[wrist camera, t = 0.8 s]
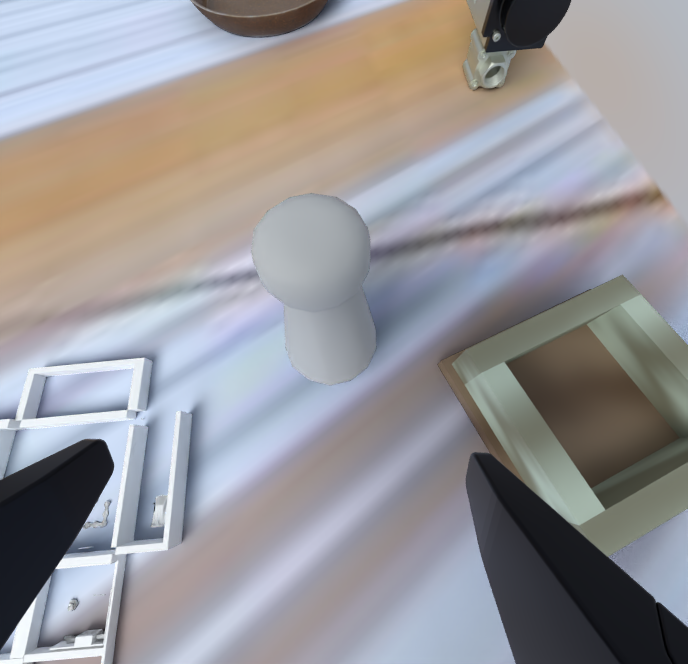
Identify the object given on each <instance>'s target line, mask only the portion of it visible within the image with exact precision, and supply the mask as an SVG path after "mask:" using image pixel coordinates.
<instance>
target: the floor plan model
mask: <svg viewBox="0 0 688 664" xmlns="http://www.w3.org/2000/svg"><path fill="white" fill-rule="evenodd" d="M152 364H153V361H151V360H149V359H147V358H135V359H125V360H114V361H104V362H94V363H83V364H73V365H62V366H52V367H41V368H31V369H29V371H28V374H27V378H26V382H25V385H24V389H23V392H22V396H21V399H20V403H19V407H18V410H17V414H16V417H15V419H3V420H0V480H1V479H3V477H4V474H5V470H6V466H7V463H8V459H9V456H10V452H11V448H12V445H13V441H14V437H15V434H16V431H17V430H26V428H28V429H38V428H49V427H60V426H70V425H81V424H91V423H102V422H113V421H123V420H134V419H136V414H137V412H140V411H146V408H147V401H148V393H149V386H150V379H151V371H152ZM133 368H134V370H133V377H132V383H131V389H130V396H129V402H128V409H127V410H120V411H110V412H99V413H89V414H78V415H68V416H57V417H46V418H36V416H37V412H38V408H39V404H40V400H41V396H42V392H43V388H44V384H45V381H46V377H49V376H60V375H70V374H81V373H91V372H102V371H112V370H123V369H133ZM141 420H143V419H141ZM191 424H192V414H190V413H186V412H182V411H177V412H176V419H175V429H174V439H173V448H172V458H171V468H170V478H169V488H168V495H167V496H166V495H162V496H161V495H160V496H156V498H155V500H156V502H155V503H153V504H155V507H154V514H153V519H152V524H151V527H153V528H154V527H162V526H164V525H165V527H164V537H163V538H158V539H148V540H137V541H134V533H135V526H136V518H137V510H138V503H139V495H140V487H141V480H142V472H143V464H144V457H145V449H146V441H147V434H148V427H146V426H140V425H130V426H129V432H128V439H127V445H126V452H125V459H124V465H123V472H122V478H121V485H120V491H119V498H118V505H117V511H116V518H115V524H114V531H113V538H112V544H111V548H112V547H116V549H114V550H103V551H92V552H81V553H70V554H65V555H64V557H63V558H62V560H61V561H60V563H59V564H58V566H57V567H56V569H62V568H73V567H84V566H95V565H106V564H112V563H114V562H116V564H115V571H114V578H113V585H112V588H111V593H110V600H109V607H108V614H107V621H106V627H105V631H102V630H103V629H98V630H87V631H85V632H83V633H82V634H80V635H78V636H75V635H74V636H65V637H64V641H61V642H59V643H58V644H56V645H54V646H52V647H40V648H37V645H38V640H39V635H40V630H41V625H42V620H43V615H44V610H45V606H46V601H47V596H48V591H49V586H50V581H51V576H52V575H51V576H50V578H49V579H48V581H47V582H46V583H45V585H44V586H43V588H42V589H41V591H40V592H39V594H38V595H37V597H36V598H35V600H34V601H33V603H32V604H31V606H30V607H29V609H28V610H27V612H26V613H25V615H24V616H23V618H22V619H21V621H20V622H19V624H18V625H17V628H16V633H15V637H14V641H13V646H12V650H11V653H7V654H0V664H33V663H34V662H38V661H49V660H61V659H72V658H83V657H94V656H102V659H101V664H112V663H113V656H114V649H115V638H116V631H117V624H118V616H119V609H120V601H121V594H122V587H123V579H124V572H125V564H126V557H127V554H129V553H140V552H151V551H162V550H169V549H171V548H173V547H175V546H177V545H179V544H181V543H182V532H183V520H184V508H185V496H186V484H187V472H188V460H189V448H190V436H191ZM97 501H98V500H97ZM96 503H97V502H96ZM109 505H110V501H106V502H105V504H104V506H105V511H104V512H103V521H102V522H101V523H99V522H97V521H96V522H94V523H92V524H91V523H89V522H87V523H85V525H84V526H83V528H84V529H87V528H89V527H93V528H96V527H98V526H101V527H105V526H106V525H107V521H106V518H107V516H108V514H109V512H108V507H109ZM165 513H166V514H165ZM91 547H93V546H91ZM91 547H82V548H79V549H86V548H91ZM102 595H106V594H102ZM93 596H95V595H93ZM78 603H79V602H77V600H76V599H72V600H70V603H69V606H68V611H73V610H75V608H76V606H77V605H78Z"/></svg>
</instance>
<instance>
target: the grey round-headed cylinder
mask: <svg viewBox="0 0 688 664" xmlns="http://www.w3.org/2000/svg"><path fill="white" fill-rule="evenodd" d="M251 254H252V258H253V263H254V265H255V268H256V270H257V273H258V275H259V277H260V280H261V282H262V284H263V286H264V287H265V289H266V290H267V291H268V292H269V293H270V294H271V295H273V296H274V297H275V298H277V299H278V300H279V301H281V302H282V303H283V304H284V324H285V348H286V351H287V354H288V356H289V359H290V361H291V364H292V367H293V368H295V369H296V370H297V371H298V372H300V373H301V374H302V375H303V376H305V377H306V378H307V379H309V380H311V381H315V382H319V383H323V384H327V385H334V384H339V383H343V382H347V381H351V380H352V379H353V378H355V377H356V376H357V375H359V374H360V373H361V372H362V371H364V370H365V369H366V368H367V367H368V365H369V363H370V361H371V359H372V357H373V354H374V352H375V350H376V328H375V325H374V322H373V319H372V316H371V313H370V309H369V306H368V303H367V300H366V297H365V294H364V291H363V288H362V283H363V281H364V279H365V278H366V276H367V274H368V272H369V267H370V236H369V231H368V227H367V226H366V224H365V223H364V221H363V220H362V218H361V217H360V215H359V213H358V212H357V210H356V209H355V208H353V207H351V206H350V205H348V204H347V203H345V202H343V201H342V200H340V199H339V198H337V197H333V196H326V195H319V194H313V193H310V194H305V195H299V196H294V197H289V198H288V199H286V200H284V201H283V202H281V203H280V204H278V205H276V206H275V207H273V208H272V209H270V210H268V211H267V212H266V214H265V215H264V216H263V218H262V219H261V221H260V222H259V223H258V225H257V226H256V227H255V229H254V232H253V240H252V248H251Z"/></svg>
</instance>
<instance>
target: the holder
mask: <svg viewBox="0 0 688 664" xmlns="http://www.w3.org/2000/svg"><path fill="white" fill-rule="evenodd" d="M438 366H439V368H440V370H441V371H442V373H443V375H444V376H445V378H446V380H447V381H448V383H449V385H450V386H451V388H452V390H453V391H454V393H455V395H456V396H457V398H458V400H459V401H460V403H461V405H462V406H463V408H464V410H465V412H466V413H467V415H468V417H469V418H470V420H471V422H472V423H473V425H474V427H475V428H476V430H477V432H478V433H479V435H480V437H481V438H482V440H483V442H484V443H485V445H486V447H487V448H488V450H489V452H490V453H491V455H493V456H494V457H495V458H496V459H497V460H498V461H500V462H501V463H502V464H503V465H504V466H505V467H506V468H508V469H509V470H510V471H511V472H512V473H513V474H514V475H515V476H517V477H518V478H519V479H520V480H521V481H522V482H523V483H525V484H526V485H527V486H528V487H529V488H530V489H531V490H533V491H534V492H535V493H536V494H537V495H538V496H539V497H540V498H542V499H543V500H544V501H545V502H546V503H547V504H548V505H550V506H551V507H552V508H553V509H554V510H555V511H556V512H557V513H559V514H560V515H561V516H562V517H563V518H564V519H565V520H567V521H568V522H569V523H570V524H571V525H572V526H573V527H574V528H576V529H577V530H578V531H579V532H580V533H581V534H582V535H584V536H585V537H586V538H587V539H588V540H589V541H590V542H592V543H593V544H594V545H595V546H596V547H597V548H598V549H599V550H601V551H602V552H603V553H604V554H605V555H606V556H607V557H608V556H610V555H612V554H613V553H615V552H617V551H618V550H620V549H622V548H623V547H625V546H627V545H628V544H630V543H632V542H633V541H635V540H637V539H638V538H640V537H641V536H643V535H645V534H646V533H648V532H650V531H651V530H653V529H655V528H656V527H658V526H660V525H661V524H663V523H665V522H666V521H668V520H670V519H671V518H673V517H675V516H676V515H678V514H679V513H681V512H683V511H684V510H686V509H688V345H687V344H686V343H685V342H684V340H683V339H682V338H681V337H680V336H679V335H678V334H677V333H676V332H675V331H674V330H673V329H672V328H671V326H670V325H669V324H668V323H667V322H666V321H665V320H664V319H663V318H662V317H661V316H660V315H659V314H658V312H657V311H656V310H655V309H654V308H653V307H652V306H651V305H650V304H649V303H648V302H647V301H646V299H645V298H644V297H643V296H642V295H641V294H640V293H639V292H638V291H637V290H636V289H635V288H634V287H633V285H632V284H631V283H630V282H629V281H628V280H627V279H626V278H625V277H624V276H623V275H621V276H619V277H616V278H614V279H612V280H610V281H608V282H606V283H604V284H602V285H600V286H598V287H596V288H594V289H589V290H587V291H585V292H583V293H581V294H579V295H577V296H575V297H573V298H571V299H569V300H567V301H564V302H562V303H560V304H558V305H556V306H554V307H552V308H550V309H548V310H546V311H544V312H542V313H539V314H537V315H535V316H533V317H531V318H529V319H527V320H525V321H523V322H521V323H519V324H516V325H514V326H512V327H510V328H508V329H506V330H504V331H502V332H500V333H498V334H496V335H494V336H491V337H489V338H487V339H485V340H483V341H481V342H479V343H477V344H475V345H473V346H471V347H469V348H466V349H464V350H462V351H460V352H458V353H456V354H454V355H452V356H450V357H448V358H446V359H444V360H441V361H440V363H439V364H438Z"/></svg>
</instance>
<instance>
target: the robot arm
mask: <svg viewBox="0 0 688 664" xmlns="http://www.w3.org/2000/svg"><path fill="white" fill-rule="evenodd" d="M113 470H114V462H113V459H112V457H111V454H110V452H109V449H108V446H107V444H106V442H105V441H104V440H101V439H84V440H82V441H80V442H77V443H75V444H73V445H71V446H69V447H67V448H65V449H63V450H61V451H59V452H57V453H55V454H53V455H51V456H49V457H47V458H44V459H42V460H40V461H38V462H36V463H34V464H32V465H30V466H28V467H26V468H24V469H22V470H20V471H18V472H16V473H14V474H12V475H9V476H7V477H5V478H3V479H1V480H0V650H1V649H2V647H3V646H4V644H5V643H6V641H7V640H8V638H9V637H10V635H11V634H12V632H13V631H14V630H15V628H16V627H17V625H18V624H19V622H20V621H21V619H22V618H23V616H24V615H25V613H26V612H27V610H28V609H29V607H30V606H31V604H32V603H33V601H34V600H35V598H36V597H37V595H38V594H39V592H40V591H41V589H42V588H43V586H44V585H45V583H46V582H47V581H48V579H49V578H50V576H51V575H52V573H53V572H54V570H55V569H56V567H57V566H58V564H59V563H60V561H61V560H62V558H63V557H64V555H65V554H66V552H67V551H68V549H69V548H70V546H71V545H72V543H73V542H74V540H75V539H76V537H77V535H78V534H79V532H80V530H81V529H82V527H83V525H84V523H85V522H86V520H87V518H88V516H89V514H90V513H91V511H92V509H93V507H94V506H95V504H96V502H97V500H98V498H99V497H100V495H101V493H102V491H103V490H104V488H105V486H106V484H107V482H108V481H109V479H110V477H111V475H112V473H113ZM466 489H467V494H468V498H469V503H470V507H471V512H472V517H473V521H474V526H475V530H476V535H477V540H478V544H479V548H480V553H481V557H482V560H483V564H484V567H485V570H486V573H487V576H488V580H489V583H490V586H491V589H492V592H493V595H494V598H495V601H496V604H497V607H498V610H499V613H500V617H501V620H502V623H503V626H504V629H505V632H506V635H507V638H508V641H509V644H510V647H511V650H512V653H513V657H514V660H515V663H516V664H688V627H687V626H686V625H685V624H684V623H683V622H681V621H680V620H679V619H678V618H677V617H676V616H675V615H673V614H672V613H671V612H670V611H669V610H668V609H667V608H666V607H664V606H663V605H662V604H661V603H658V602H657V603H656V601H655V599H654V597H653V596H652V595H651V594H649V593H648V592H647V591H646V590H645V589H644V588H643V587H641V586H640V585H639V584H638V583H637V582H636V581H635V580H634V579H632V578H631V577H630V576H629V575H628V574H627V573H626V572H624V571H623V570H622V569H621V568H620V567H619V566H618V565H616V564H615V563H614V562H613V561H612V560H611V559H610V558H609V557H607V556H606V555H605V554H604V553H603V552H602V551H601V550H599V549H598V548H597V547H596V546H595V545H594V544H593V543H592V542H590V541H589V540H588V539H587V538H586V537H585V536H584V535H582V534H581V533H580V532H579V531H578V530H577V529H576V528H574V527H573V526H572V525H571V524H570V523H569V522H568V521H567V520H565V519H564V518H563V517H562V516H561V515H560V514H559V513H557V512H556V511H555V510H554V509H553V508H552V507H551V506H550V505H548V504H547V503H546V502H545V501H544V500H543V499H542V498H540V497H539V496H538V495H537V494H536V493H535V492H534V491H533V490H531V489H530V488H529V487H528V486H527V485H526V484H525V483H523V482H522V481H521V480H520V479H519V478H518V477H517V476H515V475H514V474H513V473H512V472H511V471H510V470H509V469H508V468H506V467H505V466H504V465H503V464H502V463H501V462H500V461H498V460H497V459H496V458H495V457H494V456H493V455H491V454H490V453H477V452H474V453H472V454H471V456H470V459H469V464H468V469H467V474H466Z"/></svg>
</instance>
